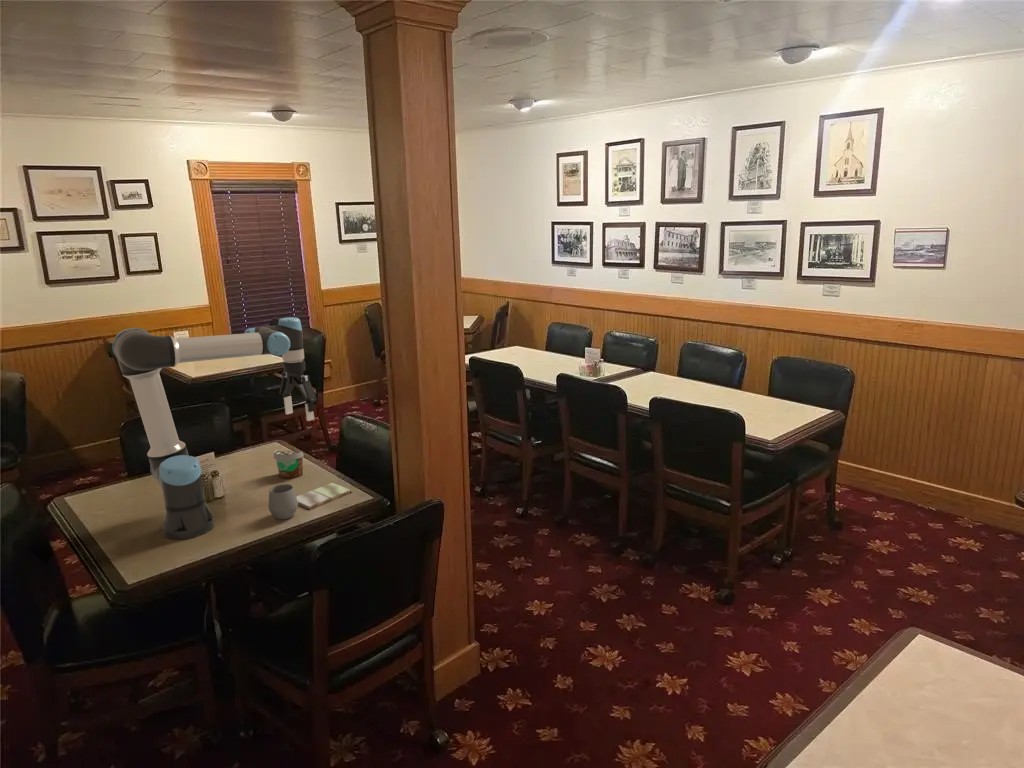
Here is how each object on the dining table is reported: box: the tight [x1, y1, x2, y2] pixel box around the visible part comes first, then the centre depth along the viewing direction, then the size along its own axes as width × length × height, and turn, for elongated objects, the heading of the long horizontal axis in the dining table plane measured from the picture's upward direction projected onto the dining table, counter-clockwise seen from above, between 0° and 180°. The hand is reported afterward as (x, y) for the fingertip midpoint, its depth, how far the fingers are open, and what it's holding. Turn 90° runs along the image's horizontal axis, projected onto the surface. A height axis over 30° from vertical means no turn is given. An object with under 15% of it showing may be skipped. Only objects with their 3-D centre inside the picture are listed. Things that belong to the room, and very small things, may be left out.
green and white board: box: [296, 482, 353, 510], centre depth 238 cm, size 18×12×1 cm, turn 142°
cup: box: [267, 483, 299, 520], centre depth 222 cm, size 10×9×10 cm
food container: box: [273, 448, 305, 480], centre depth 256 cm, size 12×6×10 cm, turn 73°
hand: (299, 416), depth 245 cm, fingers open, 13 cm apart
